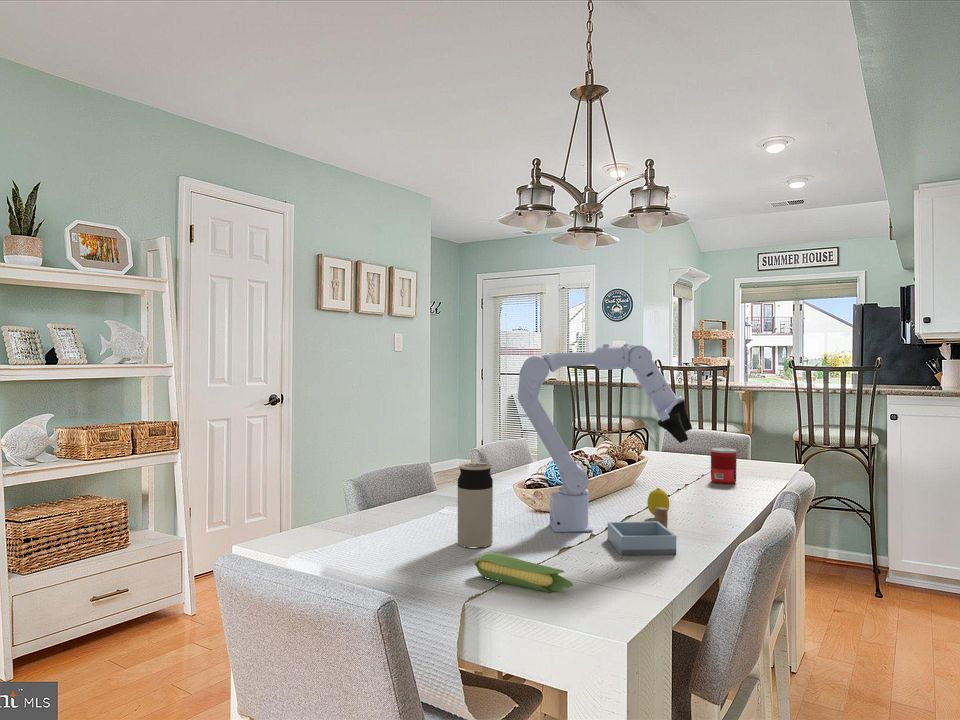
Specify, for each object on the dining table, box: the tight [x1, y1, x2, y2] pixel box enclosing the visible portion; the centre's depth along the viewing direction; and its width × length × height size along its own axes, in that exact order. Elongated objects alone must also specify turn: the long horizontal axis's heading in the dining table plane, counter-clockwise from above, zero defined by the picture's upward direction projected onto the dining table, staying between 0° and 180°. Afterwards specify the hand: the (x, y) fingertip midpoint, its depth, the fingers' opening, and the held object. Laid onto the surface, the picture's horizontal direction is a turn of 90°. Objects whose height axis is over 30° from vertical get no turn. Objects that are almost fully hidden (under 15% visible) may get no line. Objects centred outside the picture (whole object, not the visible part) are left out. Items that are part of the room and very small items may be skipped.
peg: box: [654, 507, 669, 529], centre depth 157 cm, size 3×3×6 cm
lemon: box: [647, 487, 670, 516], centre depth 172 cm, size 6×6×8 cm
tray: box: [607, 520, 677, 556], centre depth 147 cm, size 12×12×4 cm
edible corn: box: [473, 552, 575, 594], centre depth 123 cm, size 5×20×5 cm
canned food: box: [710, 447, 737, 485], centre depth 218 cm, size 8×8×11 cm
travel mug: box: [457, 461, 494, 548], centre depth 149 cm, size 8×8×18 cm
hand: (686, 435), depth 161 cm, fingers open, 7 cm apart
